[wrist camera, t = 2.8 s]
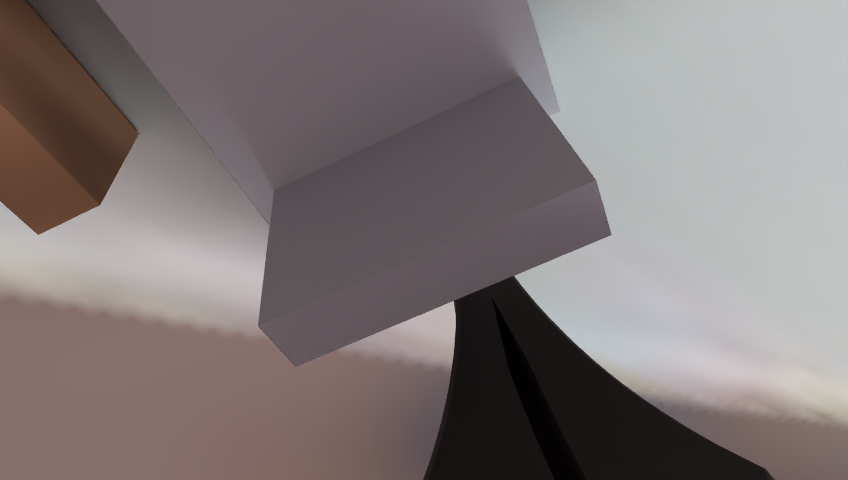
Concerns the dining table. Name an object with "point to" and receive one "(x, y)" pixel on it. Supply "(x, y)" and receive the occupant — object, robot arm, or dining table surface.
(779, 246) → the dining table surface
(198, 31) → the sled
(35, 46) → the brown wooden frame
